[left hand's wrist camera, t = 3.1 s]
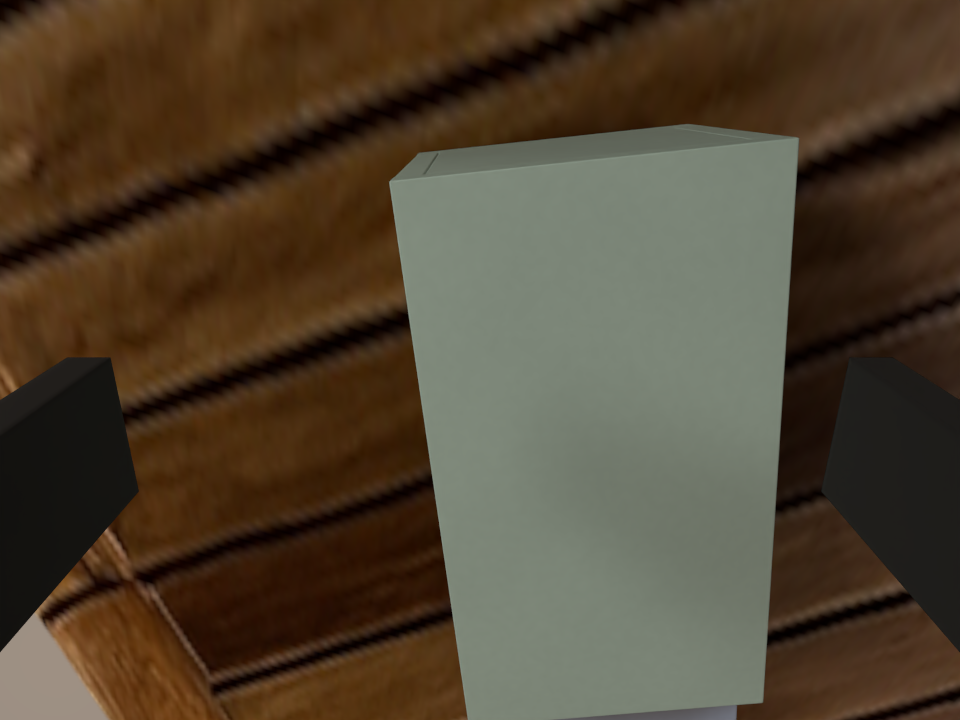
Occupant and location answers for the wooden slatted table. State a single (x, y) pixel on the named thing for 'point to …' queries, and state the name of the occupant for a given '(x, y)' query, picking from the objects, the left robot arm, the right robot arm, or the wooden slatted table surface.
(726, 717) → the drawer
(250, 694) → the wooden slatted table surface
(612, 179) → the cabinet
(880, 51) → the wooden slatted table surface
